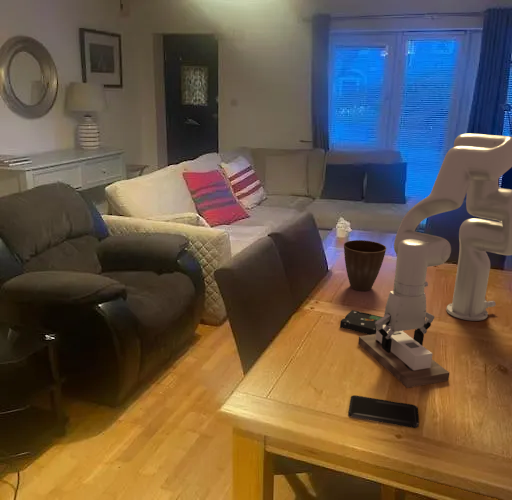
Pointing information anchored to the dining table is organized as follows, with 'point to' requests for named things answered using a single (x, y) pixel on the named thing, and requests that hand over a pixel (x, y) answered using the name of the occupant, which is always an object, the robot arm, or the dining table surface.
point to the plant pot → (363, 263)
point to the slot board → (403, 365)
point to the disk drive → (360, 322)
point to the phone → (384, 411)
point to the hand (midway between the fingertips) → (401, 347)
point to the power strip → (408, 350)
